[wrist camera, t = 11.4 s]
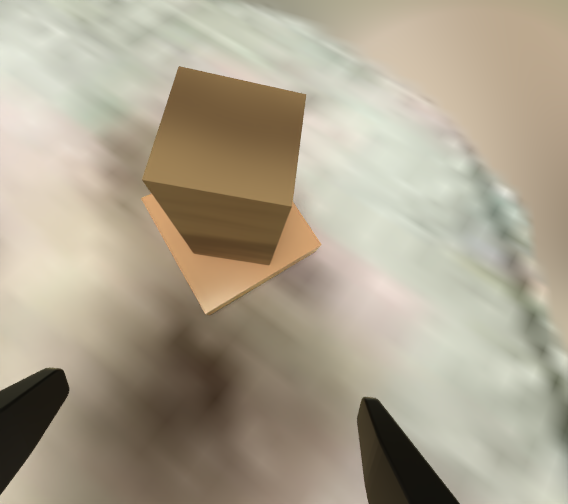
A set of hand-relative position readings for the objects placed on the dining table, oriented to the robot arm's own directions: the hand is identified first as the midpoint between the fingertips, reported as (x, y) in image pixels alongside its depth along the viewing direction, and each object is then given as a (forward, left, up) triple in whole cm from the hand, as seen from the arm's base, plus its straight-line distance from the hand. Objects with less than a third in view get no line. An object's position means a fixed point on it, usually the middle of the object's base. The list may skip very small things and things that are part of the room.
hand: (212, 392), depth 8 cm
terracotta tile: (+4, +8, -11) cm, 14 cm away
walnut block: (+5, +7, -8) cm, 12 cm away
